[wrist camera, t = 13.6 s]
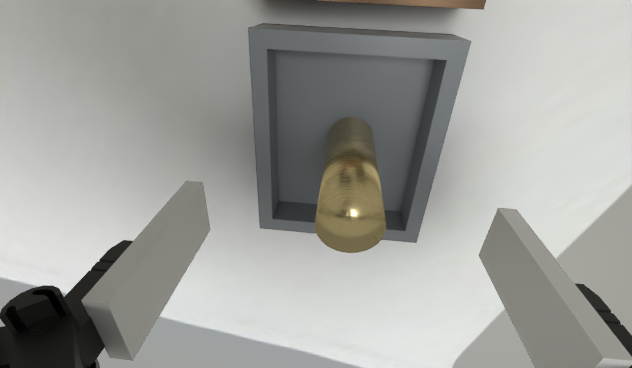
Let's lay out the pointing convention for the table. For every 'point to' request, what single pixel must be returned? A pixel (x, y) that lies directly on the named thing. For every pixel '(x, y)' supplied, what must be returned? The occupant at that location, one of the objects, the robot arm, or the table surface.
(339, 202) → the lock pin
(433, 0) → the block
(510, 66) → the table surface
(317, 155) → the tray
